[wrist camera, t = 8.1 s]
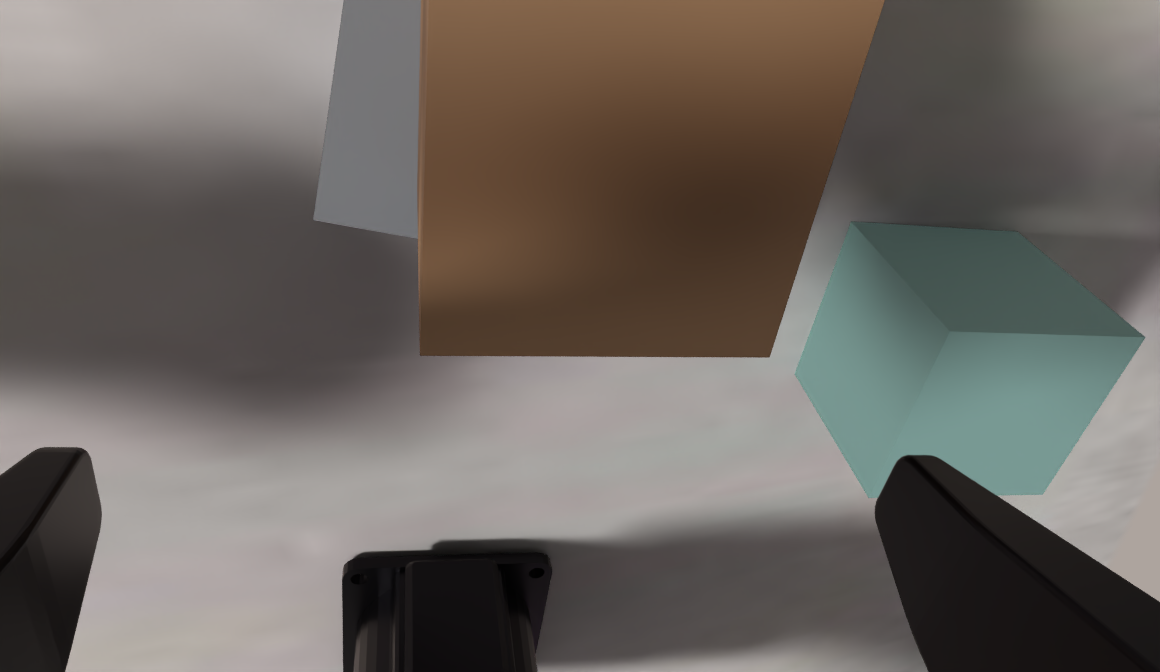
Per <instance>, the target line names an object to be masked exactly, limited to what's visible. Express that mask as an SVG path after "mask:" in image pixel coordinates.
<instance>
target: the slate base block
mask: <svg viewBox="0 0 1160 672" xmlns="http://www.w3.org/2000/svg"><path fill="white" fill-rule="evenodd" d="M420 19H421V0H344V2H343V9H342V17H341V24H340V31H339V38H338V45H337V52H336V60H335V67H334V74H333V81H332V88H331V95H330V103H329V110H328V117H327V124H326V131H325V139H324V146H323V153H322V160H321V167H320V174H319V182H318V189H317V196H316V203H315V210H314V217H313V220H315V221H320V222H326V223H332V224H337V225H343V226H348V227H354V228H359V229H365V230H371V231H376V232H382V233H387V234H393V235H398V236H404V237H410V238H415V239H418V212H417V172H418V121H419V70H420Z"/></svg>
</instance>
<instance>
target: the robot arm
mask: <svg viewBox="0 0 1160 672" xmlns="http://www.w3.org/2000/svg"><path fill="white" fill-rule="evenodd" d="M101 518H102V511H101V503H100V498H99V494H98V489H97V484H96V480H95V475H94V471H93V466H92V461H91V458H90V456H89V454H88V452H87V451H86V450H84V449H82V448H78V447H44V448H39V449H37V450H35V451H33V452H31V453H30V454H29V455H27V456H26V457H24V458H23V459H22V460H20V461H19V462H18V463H16V464H15V465H14V466H12V467H11V468H10V469H8V470H7V471H5V472H4V473H3V474H1V475H0V672H65V670H66V667H67V663H68V659H69V655H70V652H71V648H72V644H73V639H74V635H75V631H76V627H77V623H78V619H79V615H80V611H81V607H82V602H83V598H84V594H85V590H86V586H87V582H88V578H89V574H90V570H91V565H92V561H93V557H94V553H95V549H96V545H97V541H98V537H99V533H100V528H101ZM875 520H876V524H877V527H878V530H879V533H880V536H881V539H882V542H883V546H884V549H885V552H886V555H887V558H888V561H889V564H890V567H891V570H892V574H893V577H894V580H895V583H896V586H897V589H898V592H899V595H900V598H901V602H902V605H903V608H904V611H905V614H906V617H907V620H908V623H909V625H910V628H911V631H912V634H913V636H914V639H915V641H916V644H917V646H918V649H919V651H920V654H921V656H922V658H923V660H924V663H925V665H926V667H927V670H928V672H1160V602H1159V601H1157V600H1156V599H1154V598H1153V597H1151V596H1150V595H1148V594H1147V593H1145V592H1143V591H1142V590H1141V589H1139V588H1138V587H1136V586H1134V585H1133V584H1131V583H1130V582H1128V581H1127V580H1125V579H1124V578H1122V577H1121V576H1119V575H1118V574H1116V573H1115V572H1113V571H1111V570H1110V569H1108V568H1107V567H1105V566H1104V565H1102V564H1101V563H1099V562H1098V561H1096V560H1095V559H1093V558H1092V557H1090V556H1088V555H1087V554H1085V553H1084V552H1082V551H1081V550H1079V549H1078V548H1076V547H1075V546H1073V545H1072V544H1070V543H1069V542H1067V541H1065V540H1064V539H1062V538H1061V537H1059V536H1058V535H1056V534H1055V533H1053V532H1052V531H1050V530H1049V529H1047V528H1046V527H1044V526H1043V525H1041V524H1039V523H1038V522H1036V521H1035V520H1033V519H1032V518H1030V517H1029V516H1027V515H1026V514H1024V513H1023V512H1021V511H1020V510H1018V509H1016V508H1015V507H1013V506H1012V505H1010V504H1009V503H1007V502H1006V501H1004V500H1003V499H1001V498H1000V497H998V496H997V495H995V494H993V493H992V492H990V491H989V490H987V489H986V488H984V487H983V486H981V485H980V484H978V483H977V482H975V481H974V480H972V479H971V478H969V477H967V476H966V475H964V474H963V473H961V472H960V471H958V470H957V469H955V468H954V467H952V466H951V465H949V464H948V463H946V462H944V461H943V460H941V459H940V458H938V457H936V456H932V455H905V456H902V457H901V458H900V459H898V460H897V462H896V463H895V465H894V467H893V469H892V471H891V473H890V475H889V477H888V479H887V481H886V483H885V485H884V487H883V489H882V491H881V493H880V495H879V497H878V499H877V501H876V505H875ZM551 575H552V567H551V562H550V558H549V557H548V556H547V555H545V554H543V553H512V554H478V555H444V556H410V557H376V558H357V559H352V560H350V561H348V562H347V563H346V564H345V565H344V568H343V576H342V601H343V672H538V670H537V663H536V656H535V654H536V649H537V644H538V639H539V634H540V629H541V624H542V620H543V615H544V610H545V605H546V600H547V595H548V590H549V585H550V580H551Z"/></svg>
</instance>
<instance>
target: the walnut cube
mask: <svg viewBox="0 0 1160 672" xmlns="http://www.w3.org/2000/svg"><path fill="white" fill-rule="evenodd" d="M884 1H885V0H421V19H420V70H419V121H418V172H417V212H418V272H419V331H420V356H597V357H770V354H771V351H772V348H773V345H774V342H775V339H776V336H777V332H778V329H779V326H780V323H781V320H782V317H783V314H784V311H785V308H786V305H787V301H788V298H789V295H790V292H791V289H792V286H793V283H794V280H795V277H796V274H797V270H798V267H799V264H800V261H801V258H802V255H803V252H804V249H805V246H806V243H807V240H808V236H809V233H810V230H811V227H812V224H813V221H814V218H815V215H816V212H817V209H818V205H819V202H820V199H821V196H822V193H823V190H824V187H825V184H826V181H827V178H828V174H829V171H830V168H831V165H832V162H833V159H834V156H835V153H836V150H837V147H838V144H839V140H840V137H841V134H842V131H843V128H844V125H845V122H846V119H847V116H848V113H849V109H850V106H851V103H852V100H853V97H854V94H855V91H856V88H857V85H858V82H859V78H860V75H861V72H862V69H863V66H864V63H865V60H866V57H867V54H868V51H869V48H870V44H871V41H872V38H873V35H874V32H875V29H876V26H877V23H878V20H879V17H880V13H881V10H882V7H883V4H884Z"/></svg>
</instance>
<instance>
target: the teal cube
mask: <svg viewBox="0 0 1160 672" xmlns="http://www.w3.org/2000/svg"><path fill="white" fill-rule="evenodd" d="M1144 339H1145V337H1144V336H1143V335H1142V334H1141V333H1139V332H1138V331H1137V330H1136V329H1135V328H1133V327H1132V326H1131V325H1130V324H1129V323H1127V322H1126V321H1125V320H1124V319H1123V318H1121V317H1120V316H1119V315H1118V314H1116V313H1115V312H1114V311H1113V310H1112V309H1110V308H1109V307H1108V306H1107V305H1106V304H1104V303H1103V302H1102V301H1101V300H1100V299H1098V298H1097V297H1096V296H1095V295H1093V294H1092V293H1091V292H1090V291H1089V290H1087V289H1086V288H1085V287H1084V286H1083V285H1081V284H1080V283H1079V282H1078V281H1077V280H1075V279H1074V278H1073V277H1072V276H1070V275H1069V274H1068V273H1067V272H1066V271H1064V270H1063V269H1062V268H1061V267H1060V266H1058V265H1057V264H1056V263H1055V262H1054V261H1052V260H1051V259H1050V258H1049V257H1047V256H1046V255H1045V254H1044V253H1043V252H1041V251H1040V250H1039V249H1038V248H1037V247H1035V246H1034V245H1033V244H1032V243H1031V242H1029V241H1028V240H1027V239H1026V238H1024V237H1023V236H1022V235H1021V234H1020V233H1018V232H1014V231H997V230H981V229H965V228H948V227H932V226H916V225H899V224H883V223H867V222H851V224H850V226H849V229H848V232H847V234H846V237H845V240H844V242H843V245H842V248H841V251H840V253H839V256H838V259H837V261H836V264H835V267H834V269H833V272H832V275H831V278H830V280H829V283H828V286H827V288H826V291H825V294H824V296H823V299H822V302H821V304H820V307H819V310H818V313H817V315H816V318H815V321H814V323H813V326H812V329H811V331H810V334H809V337H808V339H807V342H806V345H805V348H804V350H803V353H802V356H801V358H800V361H799V364H798V366H797V369H796V372H795V375H796V377H797V379H798V380H799V382H800V384H801V385H802V387H803V389H804V390H805V392H806V394H807V395H808V397H809V399H810V401H811V402H812V404H813V406H814V407H815V409H816V411H817V412H818V414H819V416H820V417H821V419H822V421H823V422H824V424H825V426H826V427H827V429H828V431H829V432H830V434H831V436H832V437H833V439H834V441H835V442H836V444H837V446H838V447H839V449H840V451H841V452H842V454H843V456H844V457H845V459H846V461H847V462H848V464H849V466H850V467H851V469H852V471H853V472H854V474H855V476H856V478H857V479H858V481H859V483H860V484H861V486H862V488H863V489H864V491H865V493H866V494H867V496H868V498H878V497H879V495H880V493H881V491H882V489H883V487H884V485H885V483H886V481H887V479H888V477H889V475H890V473H891V471H892V469H893V467H894V465H895V463H896V462H897V460H898V459H900V458H901V457H902V456H905V455H932V456H936V457H938V458H940V459H941V460H943V461H944V462H946V463H948V464H949V465H951V466H952V467H954V468H955V469H957V470H958V471H960V472H961V473H963V474H964V475H966V476H967V477H969V478H971V479H972V480H974V481H975V482H977V483H978V484H980V485H981V486H983V487H984V488H986V489H987V490H989V491H990V492H992V493H993V494H995V495H1043V493H1044V492H1045V490H1046V489H1047V487H1048V486H1049V484H1050V483H1051V481H1052V479H1053V478H1054V476H1055V475H1056V473H1057V472H1058V470H1059V469H1060V467H1061V466H1062V464H1063V463H1064V461H1065V460H1066V458H1067V457H1068V455H1069V454H1070V452H1071V450H1072V449H1073V447H1074V446H1075V444H1076V443H1077V441H1078V440H1079V438H1080V437H1081V435H1082V434H1083V432H1084V431H1085V429H1086V428H1087V426H1088V424H1089V423H1090V421H1091V420H1092V418H1093V417H1094V415H1095V414H1096V412H1097V411H1098V409H1099V408H1100V406H1101V405H1102V403H1103V402H1104V400H1105V399H1106V397H1107V395H1108V394H1109V392H1110V391H1111V389H1112V388H1113V386H1114V385H1115V383H1116V382H1117V380H1118V379H1119V377H1120V376H1121V374H1122V373H1123V371H1124V369H1125V368H1126V366H1127V365H1128V363H1129V362H1130V360H1131V359H1132V357H1133V356H1134V354H1135V353H1136V351H1137V350H1138V348H1139V347H1140V345H1141V344H1142V342H1143V340H1144Z"/></svg>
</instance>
